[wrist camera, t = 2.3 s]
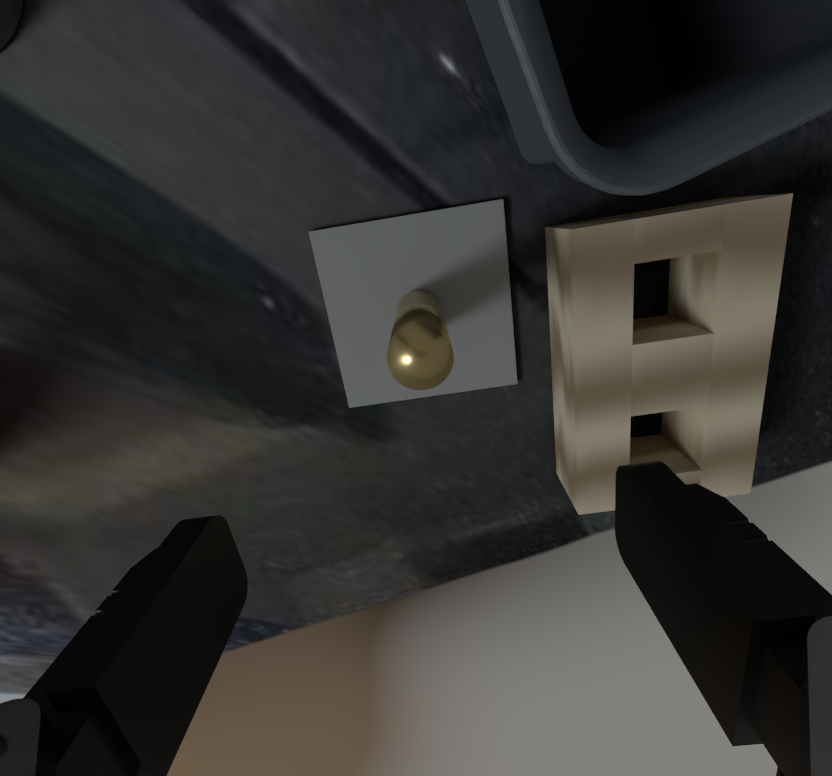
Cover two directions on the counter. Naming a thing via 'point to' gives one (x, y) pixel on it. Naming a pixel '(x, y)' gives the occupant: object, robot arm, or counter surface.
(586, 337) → the hole block
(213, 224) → the counter surface
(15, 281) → the counter surface
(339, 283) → the mat
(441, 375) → the peg
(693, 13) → the storage bin
